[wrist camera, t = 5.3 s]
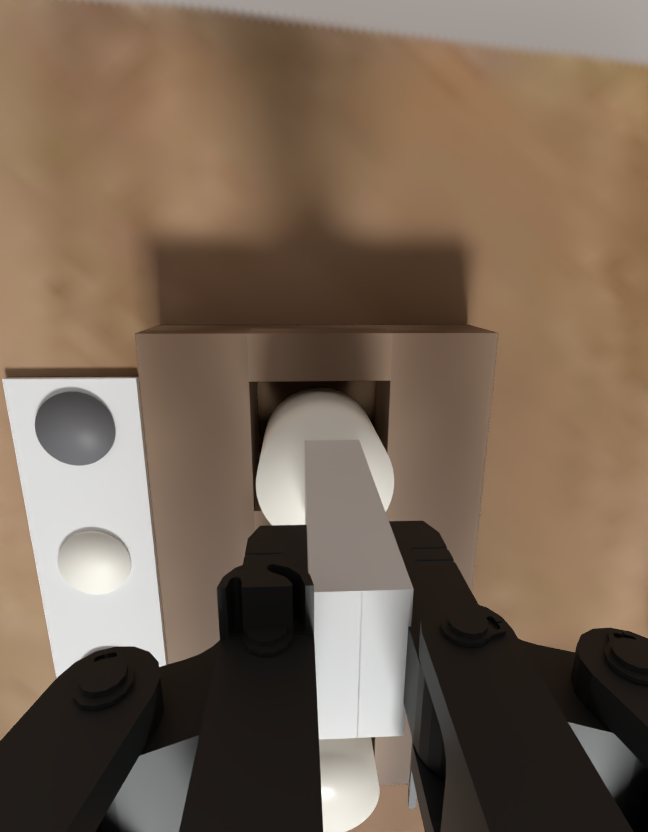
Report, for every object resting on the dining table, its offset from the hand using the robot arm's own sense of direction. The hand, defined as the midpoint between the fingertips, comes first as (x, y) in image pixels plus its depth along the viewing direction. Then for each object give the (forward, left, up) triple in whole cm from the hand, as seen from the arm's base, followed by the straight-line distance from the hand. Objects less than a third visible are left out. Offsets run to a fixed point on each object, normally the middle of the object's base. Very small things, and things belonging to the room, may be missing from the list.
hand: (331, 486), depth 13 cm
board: (0, -6, -7) cm, 9 cm away
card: (-10, -6, -7) cm, 13 cm away
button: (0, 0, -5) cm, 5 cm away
